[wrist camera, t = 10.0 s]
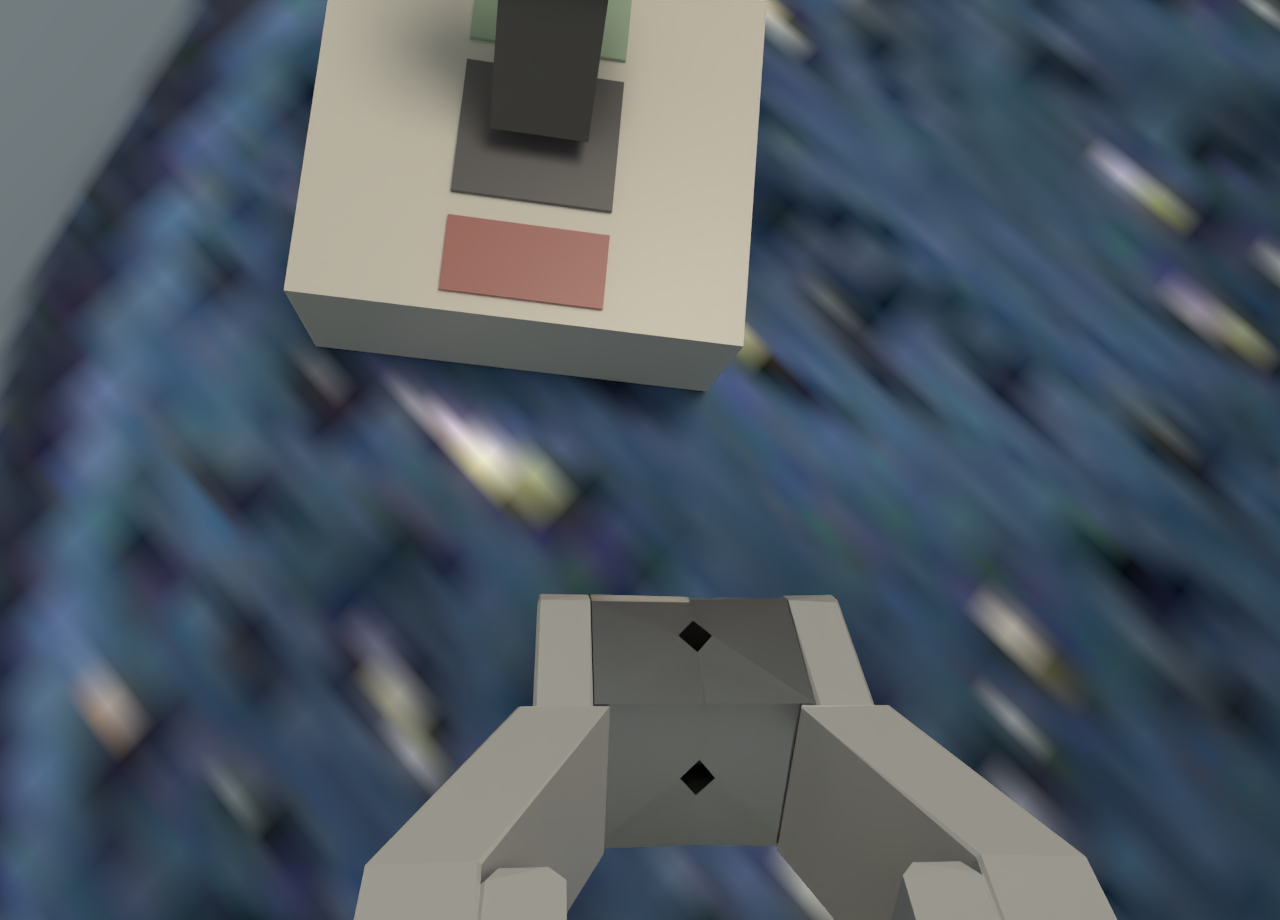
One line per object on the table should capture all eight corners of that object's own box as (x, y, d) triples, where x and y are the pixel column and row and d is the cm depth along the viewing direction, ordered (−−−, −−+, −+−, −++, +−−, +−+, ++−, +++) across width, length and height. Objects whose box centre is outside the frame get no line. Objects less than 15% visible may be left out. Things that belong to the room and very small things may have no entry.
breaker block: (705, 391, 39) (744, 344, 33) (309, 345, 38) (275, 287, 32) (727, 92, 41) (768, -3, 35) (354, 36, 40) (330, -74, 34)
